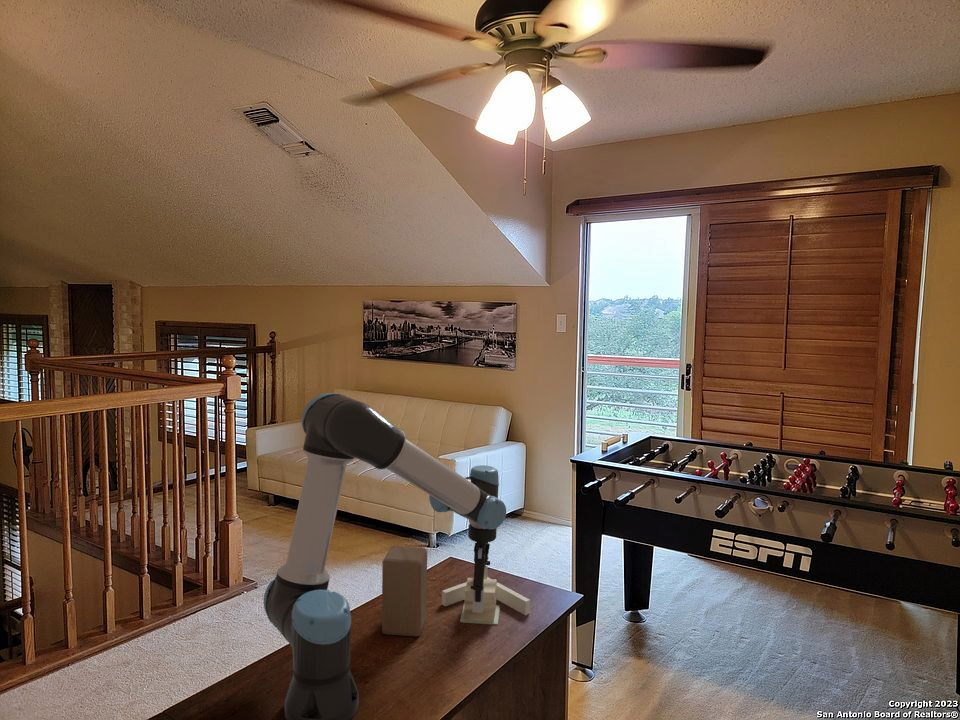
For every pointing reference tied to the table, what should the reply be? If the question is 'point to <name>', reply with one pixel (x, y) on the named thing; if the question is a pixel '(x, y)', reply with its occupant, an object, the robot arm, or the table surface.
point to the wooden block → (404, 591)
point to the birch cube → (488, 601)
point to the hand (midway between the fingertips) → (479, 600)
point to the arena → (502, 595)
